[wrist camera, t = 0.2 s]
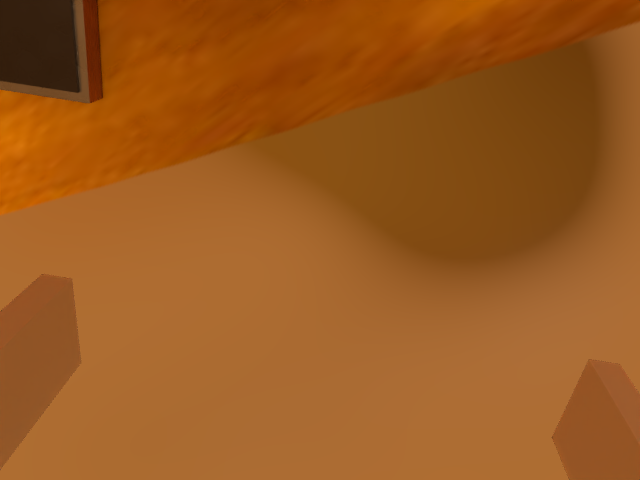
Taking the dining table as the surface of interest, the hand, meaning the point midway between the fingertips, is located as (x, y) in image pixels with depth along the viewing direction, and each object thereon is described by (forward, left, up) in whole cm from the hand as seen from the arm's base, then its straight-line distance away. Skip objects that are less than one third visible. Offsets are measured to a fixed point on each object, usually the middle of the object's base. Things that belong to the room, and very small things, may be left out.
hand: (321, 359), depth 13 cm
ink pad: (-4, -23, -28) cm, 36 cm away
